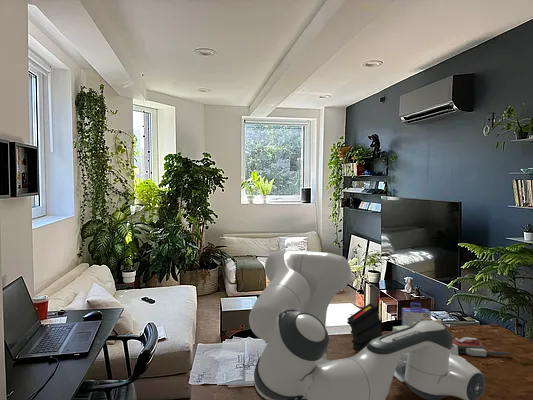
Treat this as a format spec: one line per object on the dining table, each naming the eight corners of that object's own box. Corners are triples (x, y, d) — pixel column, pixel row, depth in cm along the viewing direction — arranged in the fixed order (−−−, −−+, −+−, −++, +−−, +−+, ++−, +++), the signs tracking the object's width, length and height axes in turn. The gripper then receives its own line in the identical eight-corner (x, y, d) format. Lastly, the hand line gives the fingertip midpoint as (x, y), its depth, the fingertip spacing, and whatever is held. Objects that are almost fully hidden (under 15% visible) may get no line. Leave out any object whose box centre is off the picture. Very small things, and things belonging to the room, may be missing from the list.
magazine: (390, 340, 141) (376, 305, 139) (363, 360, 137) (347, 325, 135) (384, 336, 145) (369, 302, 142) (357, 356, 141) (341, 321, 138)
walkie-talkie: (449, 356, 132) (511, 359, 130) (449, 343, 132) (511, 346, 130) (440, 345, 141) (498, 348, 139) (440, 333, 141) (499, 336, 139)
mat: (401, 382, 114) (401, 381, 114) (379, 364, 125) (379, 363, 125) (430, 377, 117) (430, 376, 117) (405, 360, 128) (405, 359, 128)
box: (402, 374, 118) (402, 332, 117) (392, 367, 123) (392, 326, 122) (416, 372, 119) (416, 330, 119) (406, 365, 124) (406, 325, 124)
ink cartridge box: (428, 340, 145) (429, 302, 144) (431, 346, 140) (432, 307, 139) (401, 338, 147) (401, 300, 147) (402, 344, 142) (403, 305, 141)
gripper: (400, 376, 106) (373, 355, 119) (461, 366, 111) (429, 347, 124) (400, 353, 105) (373, 334, 119) (462, 344, 111) (429, 328, 124)
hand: (402, 341), depth 122 cm, fingers open, 8 cm apart
